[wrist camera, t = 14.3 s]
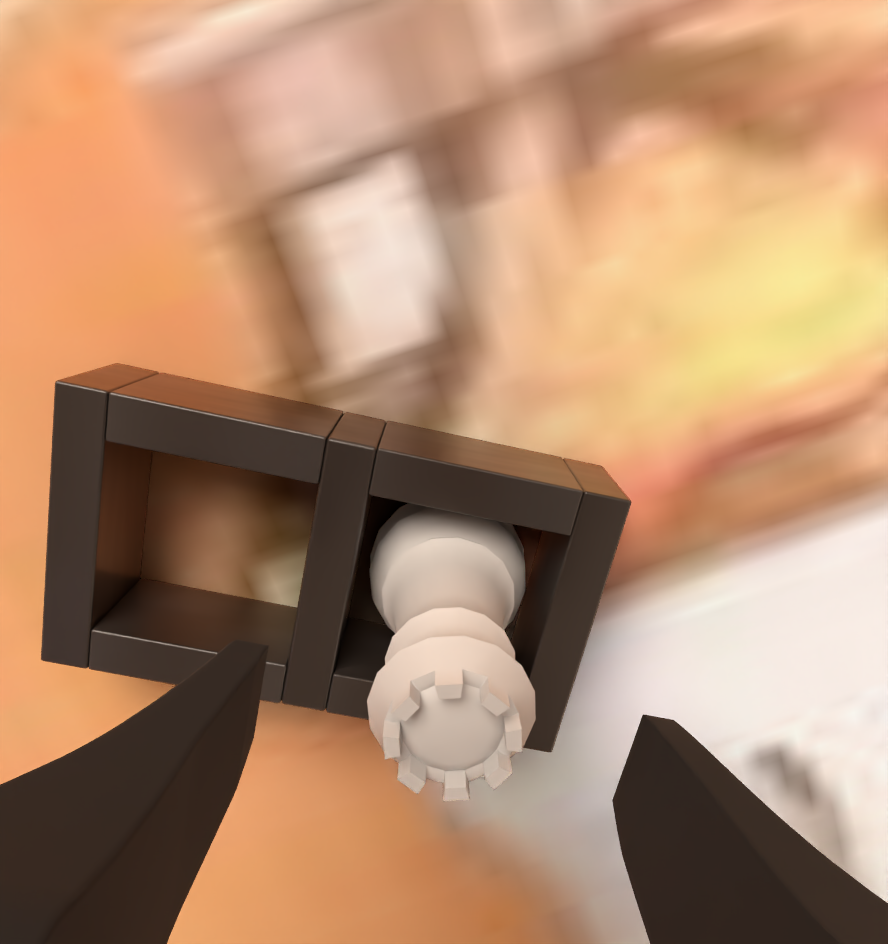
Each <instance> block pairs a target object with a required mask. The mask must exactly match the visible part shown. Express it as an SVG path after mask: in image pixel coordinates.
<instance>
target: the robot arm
mask: <svg viewBox="0 0 888 944" xmlns="http://www.w3.org/2000/svg"><path fill="white" fill-rule="evenodd" d="M268 647H269V645H263V644H258V643H253V642H247V641H242V640H234V641H232V642H231V643H229V644H228V645H227V646H225V647H224V648H223V649H222V650H221V651H219V652H218V653H217V654H216V655H215V656H213V657H212V658H211V659H210V660H209V661H207V662H206V663H205V664H204V665H202V666H201V667H200V668H199V669H197V670H196V671H195V672H194V673H192V674H191V675H190V676H189V677H187V678H186V679H185V680H183V681H182V682H180V683H179V684H178V685H176V686H175V687H174V688H172V689H171V690H170V691H168V692H167V693H166V694H164V695H163V696H162V697H160V698H159V699H157V700H156V701H155V702H153V703H152V704H150V705H149V706H147V707H146V708H144V709H143V710H141V711H140V712H138V713H137V714H135V715H133V716H132V717H130V718H129V719H127V720H126V721H124V722H123V723H121V724H120V725H118V726H117V727H115V728H113V729H112V730H110V731H108V732H107V733H105V734H103V735H102V736H100V737H98V738H96V739H95V740H93V741H91V742H89V743H88V744H86V745H84V746H82V747H80V748H78V749H76V750H75V751H73V752H71V753H69V754H67V755H65V756H63V757H61V758H59V759H56V760H54V761H52V762H50V763H48V764H45V765H43V766H41V767H39V768H37V769H34V770H32V771H30V772H28V773H26V774H23V775H21V776H19V777H17V778H15V779H12V780H10V781H8V782H6V783H3V784H1V785H0V944H167V942H168V939H169V936H170V934H171V931H172V929H173V927H174V924H175V922H176V920H177V917H178V915H179V912H180V910H181V908H182V905H183V903H184V901H185V899H186V897H187V895H188V893H189V890H190V888H191V886H192V884H193V882H194V880H195V878H196V875H197V873H198V871H199V869H200V867H201V865H202V863H203V860H204V858H205V856H206V854H207V852H208V850H209V848H210V845H211V843H212V841H213V839H214V837H215V835H216V833H217V830H218V828H219V826H220V824H221V822H222V820H223V817H224V815H225V813H226V811H227V809H228V807H229V804H230V802H231V800H232V798H233V796H234V793H235V791H236V789H237V786H238V783H239V780H240V777H241V774H242V771H243V768H244V765H245V762H246V759H247V756H248V753H249V750H250V747H251V744H252V741H253V738H254V732H255V726H256V720H257V714H258V708H259V702H260V695H261V689H262V683H263V677H264V671H265V665H266V659H267V653H268ZM612 801H613V807H614V813H615V819H616V825H617V831H618V836H619V841H620V846H621V851H622V855H623V859H624V862H625V866H626V869H627V872H628V875H629V878H630V882H631V885H632V888H633V891H634V895H635V898H636V901H637V904H638V907H639V910H640V913H641V916H642V920H643V923H644V926H645V929H646V932H647V935H648V938H649V941H650V944H888V903H887V902H885V901H884V900H882V899H881V898H880V897H878V896H877V895H875V894H874V893H873V892H871V891H870V890H869V889H867V888H866V887H865V886H863V885H862V884H861V883H859V882H858V881H857V880H855V879H854V878H853V877H851V876H850V875H849V874H848V873H846V872H845V871H844V870H842V869H841V868H840V867H838V866H837V865H836V864H834V863H833V862H832V861H831V860H829V859H828V858H827V857H826V856H824V855H823V854H822V853H821V852H819V851H818V850H817V849H816V848H815V847H813V846H812V845H811V844H810V843H809V842H808V841H806V840H805V839H804V838H803V837H802V836H801V835H799V834H798V833H797V832H796V831H795V830H794V829H792V828H791V827H790V826H789V825H788V824H787V823H785V822H784V821H783V820H782V819H781V818H780V817H779V816H777V815H776V814H775V813H774V812H773V811H772V810H771V809H770V808H769V807H767V806H766V805H765V804H764V803H763V802H762V801H761V800H760V799H759V798H758V797H757V796H755V795H754V794H753V793H752V792H751V791H750V790H749V789H748V788H747V787H746V786H745V785H744V784H743V783H742V782H740V781H739V780H738V779H737V778H736V777H735V776H734V775H733V774H732V773H731V772H730V771H729V770H728V769H727V768H726V767H725V766H724V765H723V764H722V763H721V762H719V761H718V760H717V759H716V758H715V757H714V756H713V755H712V754H711V753H710V752H709V751H708V750H707V749H706V748H705V747H704V746H703V745H701V744H700V743H699V742H698V741H697V740H696V739H695V738H694V737H693V736H692V735H691V734H690V733H688V732H687V731H686V730H685V729H684V728H683V727H681V726H680V725H679V724H678V723H677V722H675V721H674V720H670V719H665V718H659V717H654V716H649V715H643V716H642V719H641V722H640V724H639V727H638V730H637V733H636V736H635V738H634V741H633V744H632V747H631V750H630V752H629V755H628V758H627V761H626V764H625V766H624V769H623V772H622V775H621V778H620V780H619V783H618V786H617V789H616V792H615V794H614V797H613V800H612Z"/></svg>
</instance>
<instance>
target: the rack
mask: <svg viewBox="0 0 888 944" xmlns="http://www.w3.org/2000/svg"><path fill="white" fill-rule="evenodd" d="M152 451H157V452H162V453H167V454H172V455H177V456H182V457H187V458H191V459H196V460H201V461H206V462H211V463H216V464H221V465H226V466H231V467H235V468H240V469H245V470H250V471H255V472H260V473H265V474H270V475H275V476H280V477H284V478H289V479H294V480H299V481H304V482H309V483H314V484H318V483H319V486H318V492H317V498H316V504H315V509H314V515H313V521H312V527H311V532H310V538H309V544H308V550H307V555H306V561H305V567H304V573H303V578H302V584H301V590H300V596H299V601H298V607H297V608H295V607H290V606H284V605H279V604H274V603H269V602H264V601H258V600H253V599H248V598H243V597H237V596H232V595H227V594H222V593H216V592H211V591H206V590H201V589H195V588H190V587H185V586H180V585H174V584H169V583H164V582H159V581H153V580H148V579H140V571H141V561H142V551H143V540H144V530H145V519H146V509H147V499H148V488H149V478H150V468H151V457H152ZM372 496H377V497H382V498H387V499H392V500H397V501H401V502H406V503H411V504H416V505H421V506H426V507H431V508H436V509H441V510H446V511H450V512H455V513H460V514H465V515H470V516H475V517H480V518H485V519H490V520H495V521H499V522H504V523H509V524H514V525H519V526H524V527H529V528H534V529H539V530H542V533H541V537H540V540H539V544H538V548H537V551H536V555H535V558H534V562H533V565H532V569H531V572H530V576H529V580H528V583H527V587H526V590H525V594H524V597H523V601H522V604H521V608H520V612H519V615H518V619H517V622H516V626H515V629H514V633H513V636H512V640H511V645H512V647H513V648H514V650H515V660H516V661H517V662H518V663H519V664H521V665H522V667H523V669H524V671H525V673H526V675H527V677H528V679H529V681H530V683H531V685H532V687H533V689H534V691H535V716H536V720H535V722H534V724H533V727H532V729H531V731H530V733H529V735H528V738H527V740H526V742H525V744H524V746H523V748H528V749H534V750H540V751H545V752H552V750H553V747H554V744H555V741H556V737H557V734H558V731H559V728H560V725H561V722H562V719H563V716H564V712H565V709H566V706H567V703H568V700H569V697H570V694H571V690H572V687H573V684H574V681H575V678H576V675H577V672H578V668H579V665H580V662H581V659H582V656H583V653H584V650H585V646H586V643H587V640H588V637H589V634H590V631H591V628H592V625H593V621H594V618H595V615H596V612H597V609H598V606H599V603H600V599H601V596H602V593H603V590H604V587H605V584H606V581H607V577H608V574H609V571H610V568H611V565H612V562H613V559H614V555H615V552H616V549H617V546H618V543H619V540H620V537H621V534H622V530H623V527H624V524H625V521H626V518H627V515H628V512H629V508H630V505H631V500H630V499H629V498H628V497H627V495H626V494H625V493H624V492H623V491H622V489H621V488H620V487H619V486H618V485H617V483H616V482H615V481H614V480H613V479H612V477H611V476H610V475H609V474H608V472H607V471H606V470H605V469H604V468H603V467H602V466H599V465H594V464H590V463H585V462H580V461H575V460H571V459H566V458H564V459H562V458H561V457H557V456H552V455H547V454H543V453H538V452H533V451H529V450H524V449H519V448H515V447H510V446H505V445H500V444H496V443H491V442H486V441H482V440H477V439H472V438H467V437H463V436H458V435H453V434H449V433H444V432H439V431H434V430H430V429H425V428H420V427H416V426H411V425H406V424H401V423H397V422H392V421H387V423H386V421H384V420H381V419H376V418H372V417H367V416H362V415H358V414H353V413H348V412H346V413H344V414H343V412H342V411H340V410H335V409H330V408H326V407H321V406H316V405H312V404H307V403H302V402H297V401H293V400H288V399H283V398H279V397H274V396H269V395H264V394H260V393H255V392H250V391H246V390H241V389H236V388H231V387H227V386H222V385H217V384H213V383H208V382H203V381H199V380H194V379H189V378H184V377H180V376H175V375H170V374H166V373H160V374H159V373H158V372H156V371H151V370H147V369H142V368H137V367H133V366H128V365H123V364H118V363H116V364H112V365H109V366H105V367H102V368H98V369H95V370H92V371H88V372H85V373H81V374H78V375H75V376H71V377H68V378H64V379H61V380H57V381H56V383H55V397H54V416H53V436H52V455H51V475H50V494H49V514H48V533H47V553H46V573H45V592H44V612H43V631H42V651H41V660H43V661H47V662H53V663H58V664H64V665H69V666H75V667H80V668H88V667H89V669H91V670H97V671H102V672H108V673H113V674H119V675H125V676H130V677H136V678H141V679H147V680H152V681H158V682H163V683H169V684H174V685H178V684H179V683H180V682H182V681H183V680H185V679H186V678H187V677H189V676H190V675H191V674H192V673H194V672H195V671H196V670H197V669H199V668H200V667H201V666H202V665H204V664H205V663H206V662H207V661H209V660H210V659H211V658H212V657H213V656H215V655H216V654H217V653H218V652H219V651H221V650H222V649H223V648H224V647H225V646H227V645H228V644H229V643H231V642H232V641H234V640H242V641H247V642H253V643H258V644H263V645H269V647H268V653H267V659H266V665H265V671H264V677H263V683H262V689H261V695H260V700H263V701H269V702H274V703H280V702H281V700H282V703H284V704H288V705H293V706H299V707H304V708H310V709H315V710H321V711H324V710H325V709H326V711H327V712H328V713H334V714H340V715H345V716H351V717H356V718H362V719H367V720H369V715H368V705H367V699H368V696H369V694H370V691H371V688H372V685H373V683H374V680H375V677H376V675H377V673H378V672H379V671H380V670H381V669H382V668H383V667H384V665H385V656H386V654H387V651H388V648H389V645H390V643H391V640H392V637H393V636H394V635H395V632H393V631H392V630H391V629H390V628H388V626H387V625H385V624H380V623H374V622H369V621H364V620H359V619H353V618H348V614H349V609H350V604H351V599H352V594H353V589H354V584H355V579H356V574H357V569H358V564H359V559H360V554H361V549H362V544H363V538H364V533H365V528H366V523H367V518H368V513H369V508H370V503H371V498H372Z"/></svg>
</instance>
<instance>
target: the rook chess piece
mask: <svg viewBox="0 0 888 944" xmlns="http://www.w3.org/2000/svg"><path fill="white" fill-rule="evenodd" d="M370 562H371V567H370V569H369V572H370V582H371V592H372V599H373V601H374V604H375V605H376V607H377V609H378V611H379V612H380V614H381V616H382V618H383V619H384V621H385V623H386V625H387V626H388V628H390V629H391V630H392V631H393V632H395V635H394V636H393V637H392V640H391V643H390V645H389V648H388V651H387V654H386V656H385V665H384V667H383V668H382V669H381V670H380V671H379V672H378V673H377V675H376V677H375V680H374V683H373V685H372V688H371V691H370V694H369V696H368V699H367V705H368V715H369V724H370V730H371V731H372V733H373V734H374V736H375V738H376V739H377V741H378V743H379V744H380V746H381V748H382V749H383V751H384V755H385V759H390V758H392V759H394V760H395V761H396V762H398V763H399V765H398V778H397V780H398V781H400V782H401V783H403V784H404V785H405V786H407V787H408V788H410V789H411V790H412V791H414V792H415V793H417V794H418V793H419V792H420V790H421V789H422V788H423V786H424V785H425V783H426V778H427V779H430V780H434V781H437V782H441V783H443V801H459V800H470V796H469V781H472V780H474V779H477V778H479V777H482V776H484V777H485V781H486V782H487V783H488V784H489V785H490V786H491V788H492V789H493V790H495V789H496V788H497V787H498V786H499V785H500V784H502V783H503V782H504V781H505V780H506V779H507V778H508V777H509V776H510V775H512V767H511V760H510V758H511V757H512V756H513V755H514V754H515V753H517V752H522V747H523V746H524V744H525V742H526V740H527V738H528V735H529V733H530V731H531V729H532V727H533V724H534V722H535V720H536V716H535V691H534V689H533V687H532V685H531V683H530V681H529V679H528V677H527V675H526V673H525V671H524V669H523V667H522V665H521V664H519V663H518V662H517V661H516V660H515V650H514V648H513V647H512V645H511V643H510V641H509V639H508V637H507V635H506V633H505V631H504V630H505V628H506V627H507V626H508V625H509V624H510V623H511V622H512V621H513V619H514V617H515V615H516V612H517V610H518V607H519V605H520V603H521V600H522V598H523V596H524V593H525V590H526V580H525V560H524V547H523V545H522V543H521V541H520V539H519V537H518V535H517V533H516V531H515V529H514V527H513V525H512V524H509V523H504V522H499V521H495V520H490V519H485V518H480V517H475V516H470V515H465V514H460V513H455V512H450V511H446V510H441V509H436V508H431V507H426V506H421V505H416V504H411V503H408V504H406V505H404V506H402V507H400V508H399V509H398V510H397V511H396V512H395V513H394V514H393V515H392V516H391V517H390V518H389V519H388V520H387V522H386V523H385V524H384V525H383V526H382V527H381V528H380V529H379V531H378V534H377V537H376V540H375V543H374V546H373V549H372V552H371V555H370Z"/></svg>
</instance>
